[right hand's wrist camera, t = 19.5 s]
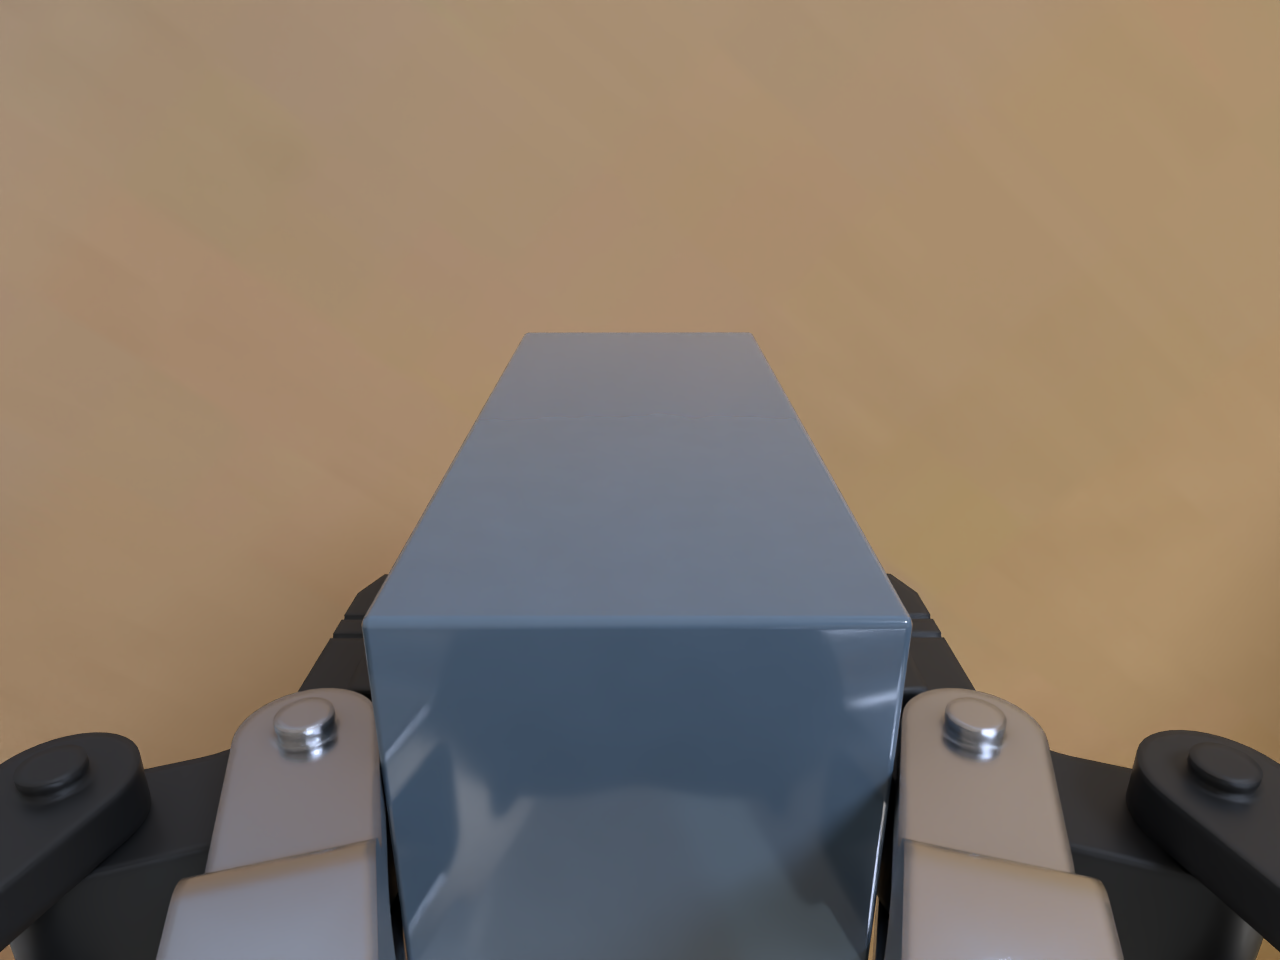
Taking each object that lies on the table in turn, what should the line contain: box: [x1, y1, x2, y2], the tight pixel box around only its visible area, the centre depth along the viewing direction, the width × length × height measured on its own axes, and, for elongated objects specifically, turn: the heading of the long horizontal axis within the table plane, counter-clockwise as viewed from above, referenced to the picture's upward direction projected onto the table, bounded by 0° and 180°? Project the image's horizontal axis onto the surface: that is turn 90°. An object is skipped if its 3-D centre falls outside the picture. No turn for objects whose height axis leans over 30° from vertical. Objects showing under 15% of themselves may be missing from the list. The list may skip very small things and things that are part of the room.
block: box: [361, 333, 913, 960], centre depth 12 cm, size 4×5×10 cm
